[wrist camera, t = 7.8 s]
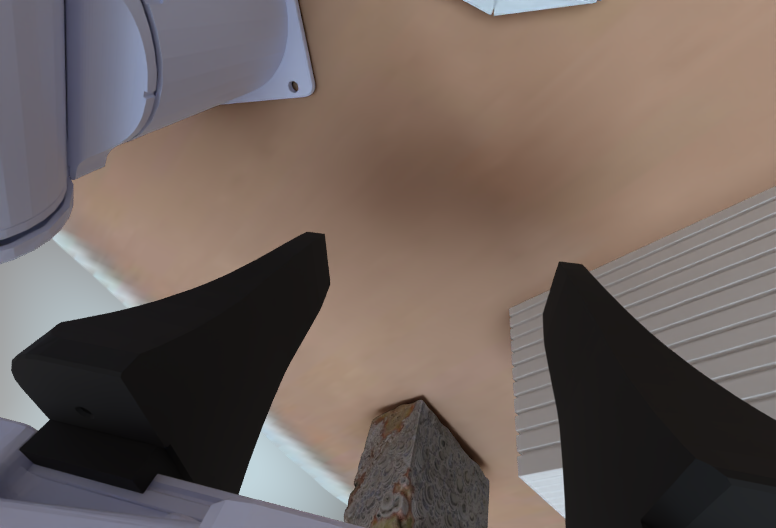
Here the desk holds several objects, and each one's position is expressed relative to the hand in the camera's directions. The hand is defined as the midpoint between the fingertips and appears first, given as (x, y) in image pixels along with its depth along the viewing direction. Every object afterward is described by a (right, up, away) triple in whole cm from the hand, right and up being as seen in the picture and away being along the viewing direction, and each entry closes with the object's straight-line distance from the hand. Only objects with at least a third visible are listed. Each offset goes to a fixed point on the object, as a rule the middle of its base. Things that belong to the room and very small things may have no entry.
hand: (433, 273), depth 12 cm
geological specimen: (+3, -15, +22) cm, 27 cm away
